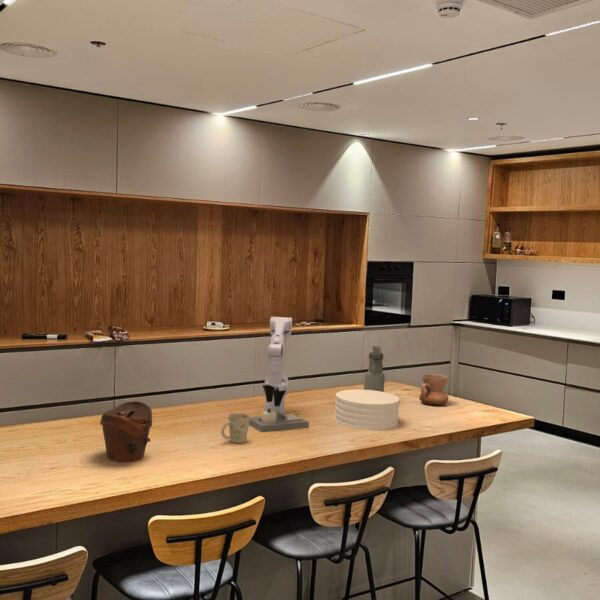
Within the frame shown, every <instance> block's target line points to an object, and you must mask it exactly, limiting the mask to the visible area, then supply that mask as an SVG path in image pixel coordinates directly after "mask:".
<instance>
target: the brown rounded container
mask: <svg viewBox="0 0 600 600" xmlns="http://www.w3.org/2000/svg"><path fill="white" fill-rule="evenodd" d="M152 414H153V412H152V408H151V407H150V406H149V405H148V404H146V403H144V402H141V401H137V400H136V401H128V402H124V403H121V404H119V405H117V406H115V407H113V408H110V409H109V410H107V411H106V412H104V413H102V415H101V418H100V422H99V424H100V426H102V427H101V428H102V433H103V438H104V439H103V440H104V444H105V445H104V446H105V450H106V457H107V458H108V459H109V460H110V461H114V462H133V461H137V460H140V459H142V458H143V457H144V456H145V451H146V448H147V445H148V442H151V439H150V438H149V435H150V429H151V427H153V415H152Z"/></svg>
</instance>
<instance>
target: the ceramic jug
mask: <svg viewBox="0 0 600 600" xmlns="http://www.w3.org/2000/svg"><path fill="white" fill-rule="evenodd" d="M422 382H423V383H421V385H420V394H419V395H418V397H419V400H420V401H421V402H422V403H424V404H426V405H431V406H443V405H445V404H447V403H448V402H449V396H448V394H447V393H445V392H444V389H445V387H446V385H447V384H448V376H446V375H443V374H437V373H427V374H423V375H422Z"/></svg>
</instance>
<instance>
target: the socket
mask: <svg viewBox="0 0 600 600" xmlns="http://www.w3.org/2000/svg"><path fill="white" fill-rule="evenodd" d="M288 414H289V413H284V415H288ZM292 414H293V415H295V416H297V417H299V418H301V420H297V421H286V422H284V421H282V420H281V419H279V418H277V417H276V422H268V423H263V422H261V416H250V421H249V425H250V426H251V427H253V428H254V429H256V430H257V431H259V432H260V433H265V432H266V433H267V432H277V431H288V430H297V429H304V428H305V429H306V428H308V429H309V427H310V426H309V425H310V421H308V420H306V419H304V418H303V417H300V416H298V415H297V414H294V413H292Z"/></svg>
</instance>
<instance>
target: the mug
mask: <svg viewBox="0 0 600 600" xmlns="http://www.w3.org/2000/svg"><path fill="white" fill-rule="evenodd" d="M250 417H251V415H250V414H248V413H245V412H244V413H243V412H234V413H233V412H232V413H230V414H228V417H227V418H228V421H226V422H224V423H223V425H222V426H221V433H220V435H221V436H222V437H223V438H224V439H225V440H228V439H229V440H230V442H232V443H234V444H243V443H245V442H246V441H247V437H248V431H249V421H250ZM227 426H229V427H228V428H229V435H227V436H226V434H225V429H226V427H227Z"/></svg>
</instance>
